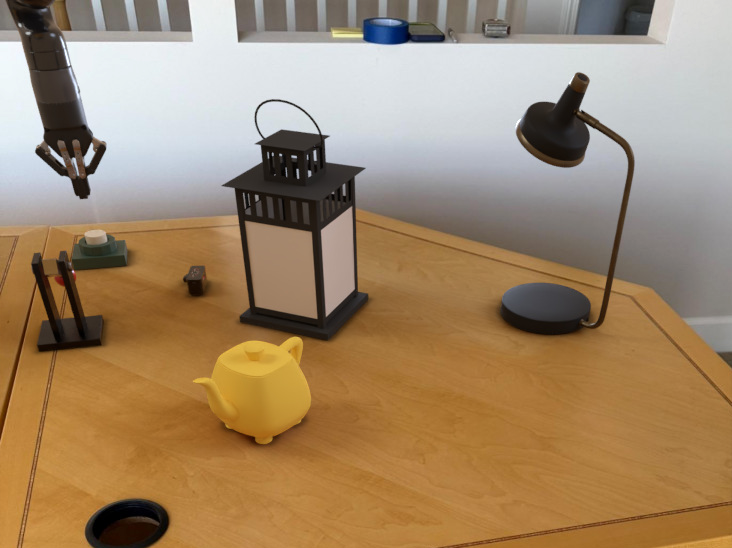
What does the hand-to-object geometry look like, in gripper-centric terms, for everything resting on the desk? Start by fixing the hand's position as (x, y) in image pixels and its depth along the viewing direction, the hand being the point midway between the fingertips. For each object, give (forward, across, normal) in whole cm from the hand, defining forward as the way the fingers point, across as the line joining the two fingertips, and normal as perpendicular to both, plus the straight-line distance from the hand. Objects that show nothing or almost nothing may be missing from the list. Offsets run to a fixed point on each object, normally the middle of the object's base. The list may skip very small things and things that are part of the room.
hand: (84, 197), depth 147 cm
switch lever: (+5, -3, -27) cm, 28 cm away
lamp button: (+9, 0, +1) cm, 9 cm away
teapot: (+13, +25, -65) cm, 71 cm away
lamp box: (+12, 0, +1) cm, 13 cm away
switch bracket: (+12, -3, -31) cm, 34 cm away
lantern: (+13, +37, -30) cm, 49 cm away
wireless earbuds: (+13, +18, -16) cm, 27 cm away
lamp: (+13, +80, -42) cm, 91 cm away
